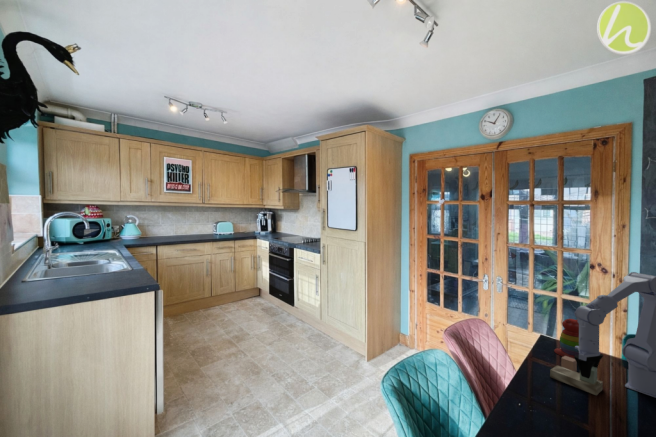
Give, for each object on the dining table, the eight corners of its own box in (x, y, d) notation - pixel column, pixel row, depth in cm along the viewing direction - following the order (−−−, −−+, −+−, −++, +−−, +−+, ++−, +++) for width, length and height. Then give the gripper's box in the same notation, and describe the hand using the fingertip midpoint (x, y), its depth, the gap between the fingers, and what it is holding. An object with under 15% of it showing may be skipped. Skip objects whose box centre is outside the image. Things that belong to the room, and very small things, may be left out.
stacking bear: (575, 352, 135) (575, 315, 135) (593, 362, 125) (593, 323, 125) (552, 350, 136) (552, 314, 136) (567, 361, 126) (567, 322, 126)
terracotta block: (576, 371, 118) (576, 359, 118) (573, 373, 116) (573, 362, 116) (564, 367, 121) (564, 355, 121) (561, 369, 119) (561, 357, 119)
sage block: (597, 381, 105) (597, 367, 105) (593, 384, 103) (593, 370, 103) (583, 376, 108) (583, 363, 108) (579, 379, 106) (579, 366, 106)
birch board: (602, 389, 105) (602, 381, 105) (596, 395, 101) (596, 387, 101) (557, 372, 117) (557, 364, 117) (550, 377, 113) (550, 369, 113)
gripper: (581, 331, 113) (581, 364, 113) (568, 338, 105) (568, 374, 105) (605, 337, 107) (605, 372, 107) (593, 346, 99) (593, 383, 99)
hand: (588, 374), depth 105 cm, fingers open, 7 cm apart
